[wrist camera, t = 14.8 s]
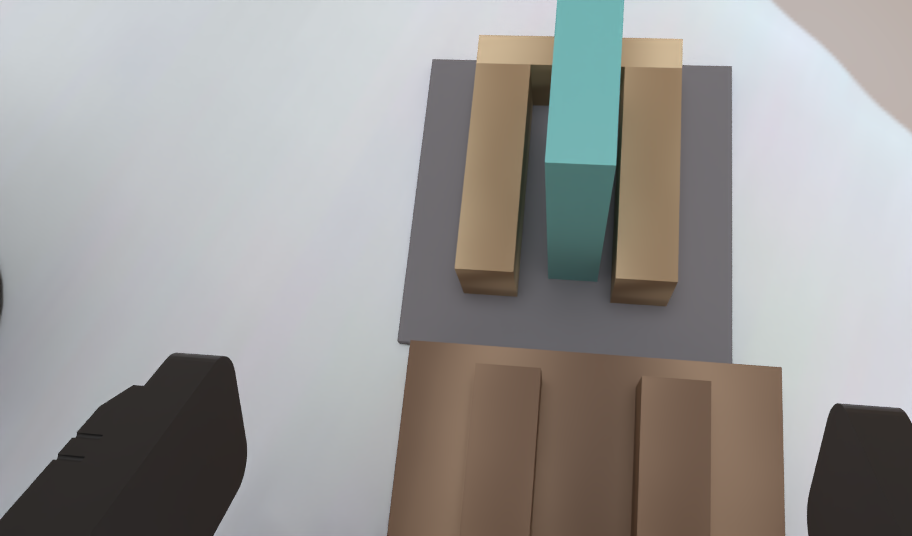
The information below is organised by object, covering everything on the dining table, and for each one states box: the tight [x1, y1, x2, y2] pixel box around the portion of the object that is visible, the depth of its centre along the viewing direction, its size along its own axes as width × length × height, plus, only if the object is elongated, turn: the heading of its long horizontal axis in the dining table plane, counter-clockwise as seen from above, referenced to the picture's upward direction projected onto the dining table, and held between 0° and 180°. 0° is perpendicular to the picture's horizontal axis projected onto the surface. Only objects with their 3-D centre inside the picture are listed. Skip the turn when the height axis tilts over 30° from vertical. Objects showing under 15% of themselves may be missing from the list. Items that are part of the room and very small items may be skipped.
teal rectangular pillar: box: [545, 0, 624, 282], centre depth 26 cm, size 2×6×10 cm, turn 174°
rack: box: [455, 35, 683, 306], centre depth 30 cm, size 7×9×3 cm
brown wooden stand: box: [387, 340, 785, 536], centre depth 26 cm, size 12×10×5 cm
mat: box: [398, 59, 732, 364], centre depth 31 cm, size 12×12×1 cm
